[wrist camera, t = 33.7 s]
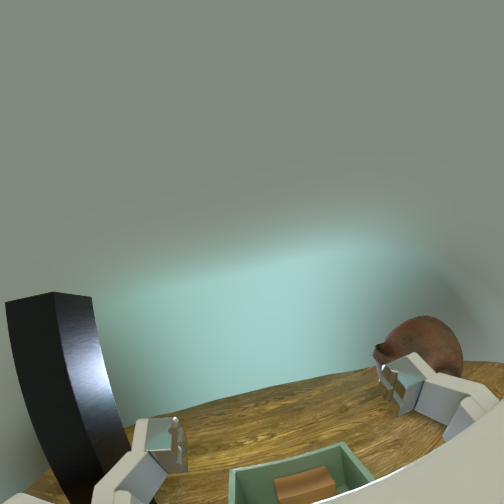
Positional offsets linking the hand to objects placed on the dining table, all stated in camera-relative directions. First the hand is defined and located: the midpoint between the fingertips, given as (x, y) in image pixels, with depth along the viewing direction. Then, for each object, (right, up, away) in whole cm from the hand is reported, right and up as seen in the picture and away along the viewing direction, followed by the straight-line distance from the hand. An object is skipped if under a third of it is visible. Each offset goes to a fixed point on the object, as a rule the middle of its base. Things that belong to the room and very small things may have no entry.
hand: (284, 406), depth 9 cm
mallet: (+7, -27, +10) cm, 29 cm away
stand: (-19, -35, +12) cm, 41 cm away
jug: (+36, -26, +33) cm, 56 cm away
